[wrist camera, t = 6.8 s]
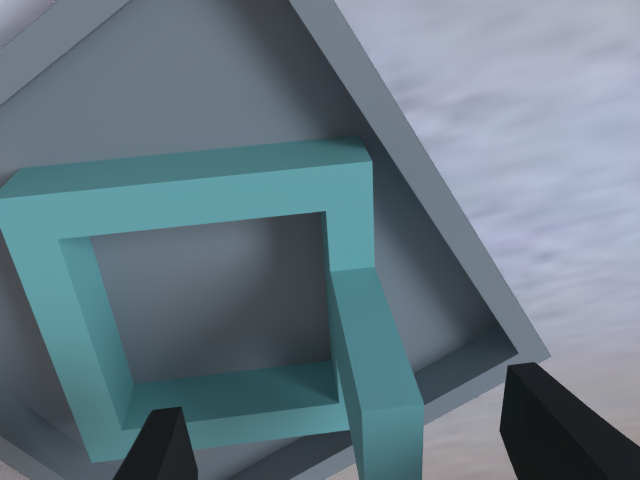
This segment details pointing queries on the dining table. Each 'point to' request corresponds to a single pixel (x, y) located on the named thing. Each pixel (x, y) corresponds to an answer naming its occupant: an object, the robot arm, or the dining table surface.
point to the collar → (234, 387)
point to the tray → (241, 235)
